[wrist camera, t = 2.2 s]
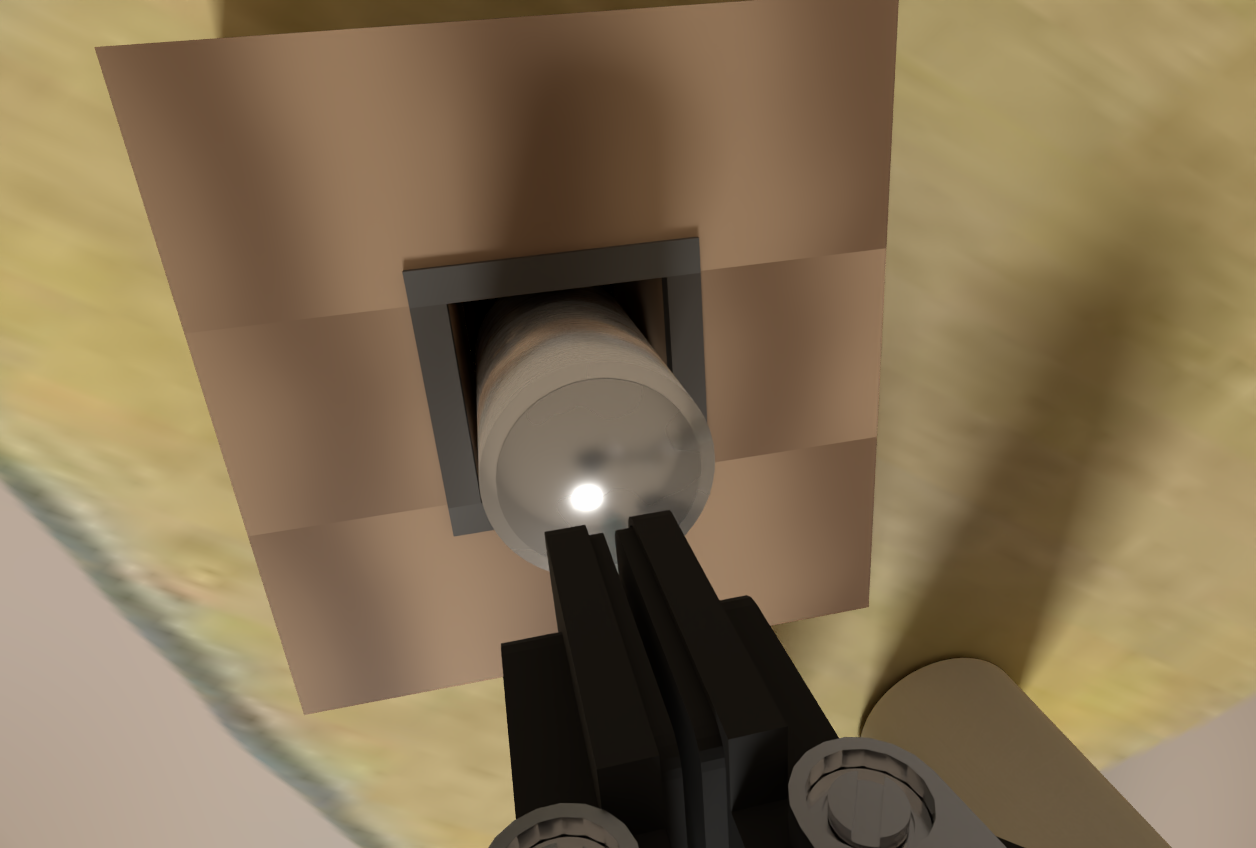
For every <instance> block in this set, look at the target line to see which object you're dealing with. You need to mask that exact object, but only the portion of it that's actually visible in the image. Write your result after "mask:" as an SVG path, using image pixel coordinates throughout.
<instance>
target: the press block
mask: <svg viewBox="0 0 1256 848" xmlns="http://www.w3.org/2000/svg"><path fill="white" fill-rule="evenodd" d="M898 1H899V0H751V1H737V2H723V3H709V4H695V5H680V6H666V7H652V8H638V9H624V10H610V11H596V12H582V13H568V14H554V15H540V16H526V17H512V18H498V19H484V20H470V21H456V22H442V23H427V24H413V25H399V26H385V27H371V28H357V29H343V30H329V31H315V32H301V33H287V34H273V35H259V36H245V37H231V38H217V39H203V40H189V41H175V42H160V43H146V44H132V45H118V46H104V47H95V50H96V54H97V57H98V60H99V63H100V66H101V70H102V73H103V76H104V79H105V82H106V85H107V89H108V92H109V95H110V98H111V101H112V105H113V108H114V111H115V114H116V117H117V120H118V124H119V127H120V130H121V133H122V136H123V140H124V143H125V146H126V149H127V152H128V155H129V159H130V162H131V165H132V168H133V171H134V175H135V178H136V181H137V184H138V187H139V191H140V194H141V197H142V200H143V203H144V206H145V210H146V213H147V216H148V219H149V222H150V226H151V229H152V232H153V235H154V238H155V241H156V245H157V248H158V251H159V254H160V257H161V261H162V264H163V267H164V270H165V273H166V276H167V280H168V283H169V286H170V289H171V292H172V296H173V299H174V302H175V305H176V308H177V311H178V315H179V318H180V321H181V324H182V327H183V331H184V334H185V337H186V340H187V343H188V346H189V350H190V353H191V356H192V359H193V362H194V366H195V369H196V372H197V375H198V378H199V381H200V385H201V388H202V391H203V394H204V397H205V401H206V404H207V407H208V410H209V413H210V416H211V420H212V423H213V426H214V429H215V432H216V436H217V439H218V442H219V445H220V448H221V451H222V455H223V458H224V461H225V464H226V467H227V471H228V474H229V477H230V480H231V483H232V486H233V490H234V493H235V496H236V499H237V502H238V506H239V509H240V512H241V515H242V518H243V522H244V525H245V528H246V531H247V534H248V537H249V541H250V544H251V547H252V550H253V553H254V557H255V560H256V563H257V566H258V569H259V572H260V576H261V579H262V582H263V585H264V588H265V592H266V595H267V598H268V601H269V604H270V607H271V611H272V614H273V617H274V620H275V623H276V627H277V630H278V633H279V636H280V639H281V642H282V646H283V649H284V652H285V655H286V658H287V662H288V665H289V668H290V671H291V674H292V677H293V681H294V684H295V687H296V690H297V693H298V697H299V700H300V703H301V706H302V709H303V712H304V715H306V714H312V713H317V712H322V711H327V710H333V709H338V708H343V707H348V706H353V705H359V704H364V703H369V702H374V701H380V700H385V699H390V698H395V697H401V696H406V695H411V694H416V693H421V692H427V691H432V690H437V689H442V688H448V687H453V686H458V685H463V684H468V683H474V682H479V681H484V680H489V679H495V678H500V677H503V668H502V657H501V643H506V642H511V641H516V640H521V639H526V638H531V637H536V636H541V635H546V634H551V633H556V632H558V628H557V621H556V614H555V607H554V600H553V593H552V586H551V579H550V572H549V571H547V570H544V569H541V568H539V567H537V566H535V565H533V564H531V563H529V562H527V561H526V560H524V559H523V558H521V557H520V556H519V555H517V554H516V553H515V552H513V551H512V550H511V549H510V548H509V547H508V546H507V545H506V544H505V543H504V542H503V541H502V539H501V538H500V537H499V536H498V534H497V533H496V532H495V530H494V528H493V527H492V525H491V523H490V522H489V520H488V517H487V515H486V512H485V510H484V507H483V503H482V499H481V495H480V487H479V468H478V431H477V394H476V379H475V373H474V367H473V361H472V355H471V349H470V343H469V337H468V331H467V325H466V319H465V313H464V307H463V302H466V301H474V300H482V299H490V298H498V297H507V296H515V295H523V294H531V293H539V292H548V291H556V290H564V289H572V288H580V287H589V286H597V285H605V284H614V296H615V300H616V301H617V302H618V303H619V305H620V306H621V307H622V308H623V310H624V311H625V312H626V314H627V315H628V316H629V317H630V319H631V320H632V321H633V323H634V324H635V325H636V327H637V328H638V329H639V330H640V332H641V333H642V334H643V336H644V337H645V338H646V340H647V341H648V342H649V343H650V345H651V346H652V347H653V349H654V350H655V351H656V353H657V354H658V355H659V356H660V358H661V359H662V360H663V362H664V363H665V364H666V366H667V367H668V368H669V369H670V371H671V372H672V373H673V375H674V376H675V377H676V379H677V380H678V381H679V382H680V384H681V385H682V386H683V388H684V389H685V390H686V392H687V393H688V394H689V395H690V397H691V398H692V399H693V401H694V402H695V403H696V405H697V406H698V408H699V409H700V411H701V412H702V414H703V416H704V417H705V420H706V422H707V424H708V427H709V429H710V432H711V436H712V440H713V444H714V453H715V472H714V478H713V484H712V488H711V491H710V494H709V497H708V500H707V502H706V504H705V506H704V509H703V511H702V512H701V514H700V516H699V517H698V519H697V521H696V522H695V524H694V525H693V526H692V527H691V529H690V530H689V531H688V533H687V534H686V535H685V538H686V539H687V541H688V543H689V545H690V547H691V549H692V550H693V552H694V554H695V556H696V558H697V560H698V561H699V563H700V565H701V567H702V569H703V571H704V573H705V574H706V576H707V578H708V580H709V582H710V584H711V585H712V587H713V589H714V591H715V593H716V595H717V597H718V598H719V600H724V599H729V598H734V597H739V596H744V595H748V596H750V597H752V599H753V600H754V601H755V602H756V604H757V605H758V607H759V609H760V610H761V612H762V613H763V615H764V617H765V618H766V620H767V622H768V623H769V625H770V626H772V625H777V624H782V623H787V622H793V621H798V620H803V619H808V618H814V617H819V616H824V615H829V614H834V613H840V612H845V611H850V610H855V609H861V608H866V607H869V587H870V567H871V547H872V527H873V507H874V486H875V466H876V446H877V426H878V406H879V385H880V365H881V345H882V325H883V305H884V284H885V264H886V244H887V224H888V203H889V183H890V163H891V143H892V123H893V102H894V82H895V62H896V42H897V22H898ZM618 575H619V574H618Z"/></svg>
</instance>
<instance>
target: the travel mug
mask: <svg viewBox="0 0 1256 848" xmlns="http://www.w3.org/2000/svg"><path fill="white" fill-rule="evenodd" d="M861 738H872V739H876V740H880V741H883V742H887V743H891V744H894V745H896V746H898V747H900V748H902V749H904V750H906V751H908V752H910V753H912V754H914V755H916V756H917V757H918V758H919V759H920V760H922V761H923V762H924V763H925V764H926V765H928V766H929V767H930V768H931V769H932V770H934V771H935V772H936V773H937V774H938V775H939V777H940V778H941V779H942V780H943V781H944V782H945V783H946V784H947V785H948V786H949V787H950V788H951V789H952V790H953V791H954V792H955V793H956V795H957V796H958V797H959V798H960V799H961V800H962V801H963V802H964V803H965V804H966V805H967V806H968V807H969V808H970V809H971V810H972V811H973V813H974V814H975V815H976V816H977V817H978V818H979V819H980V820H981V821H982V822H983V823H984V824H985V825H986V826H987V827H988V828H989V829H990V831H991V832H992V833H993V834H994V835H995V836H997V837H1000V838H1002V839H1005V840H1007V841H1010V842H1012V843H1015V844H1017V845H1020V846H1022V847H1025V848H1172V847H1171V846H1170V845H1169V844H1168V843H1167V842H1166V841H1165V840H1164V839H1163V838H1162V837H1161V836H1160V835H1159V834H1158V833H1157V832H1156V831H1155V829H1154V828H1153V827H1151V825H1150V824H1149V823H1148V822H1147V821H1146V820H1145V819H1144V818H1143V817H1142V816H1141V815H1140V814H1139V813H1138V812H1137V811H1136V810H1135V808H1133V806H1132V805H1131V804H1130V803H1129V802H1128V801H1127V800H1126V799H1125V798H1124V797H1123V796H1122V795H1121V794H1120V793H1119V792H1118V791H1117V790H1116V789H1115V787H1113V785H1112V784H1111V783H1110V782H1109V781H1108V780H1107V779H1106V778H1105V777H1104V776H1103V775H1102V774H1101V773H1100V772H1099V771H1098V770H1097V769H1096V767H1095V766H1094V765H1093V764H1092V763H1091V762H1090V761H1089V760H1088V759H1087V758H1086V757H1085V756H1084V755H1083V754H1082V753H1081V752H1080V751H1079V750H1078V749H1077V747H1076V746H1075V745H1074V744H1073V743H1072V742H1071V741H1070V740H1069V739H1068V738H1067V737H1066V736H1065V735H1064V734H1063V733H1062V732H1061V731H1060V730H1059V729H1058V728H1057V726H1056V725H1055V724H1054V723H1053V722H1052V721H1051V720H1050V719H1049V718H1048V717H1047V716H1046V715H1045V714H1044V713H1043V712H1042V711H1041V710H1040V709H1039V708H1038V706H1037V705H1036V704H1035V703H1034V702H1033V701H1032V700H1031V699H1030V698H1029V697H1028V696H1027V695H1026V694H1025V693H1024V692H1023V691H1022V690H1021V689H1020V688H1019V687H1018V685H1017V684H1016V683H1015V682H1014V681H1013V680H1012V679H1011V678H1010V677H1009V676H1008V675H1007V674H1006V673H1005V672H1004V671H1003V670H1002V669H1000V668H999V667H998V666H996V665H994V664H992V663H990V662H987V661H984V660H980V659H974V658H954V659H948V660H943V661H939V662H936V663H933V664H930V665H928V666H925V667H923V668H921V669H919V670H916V671H915V672H913V673H911V674H909V675H908V676H906V677H905V678H903V679H902V680H900V681H899V682H898V683H897V684H895V685H894V686H893V687H892V688H891V689H890V690H888V691H887V692H886V693H885V694H884V696H883V697H882V698H881V699H880V700H879V701H878V702H877V704H876V705H875V707H874V708H873V709H872V711H871V713H870V714H869V716H868V718H867V720H866V722H865V725H864V728H863V730H862V734H861Z"/></svg>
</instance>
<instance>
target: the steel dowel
mask: <svg viewBox="0 0 1256 848" xmlns="http://www.w3.org/2000/svg"><path fill="white" fill-rule="evenodd" d="M475 357H476V394H477V431H478V468H479V487H480V495H481V499H482V503H483V507H484V510H485V512H486V515H487V517H488V520H489V522H490V523H491V525H492V527H493V528H494V530H495V532H496V533H497V534H498V536H499V537H500V538H501V539H502V541H503V542H504V543H505V544H506V545H507V546H508V547H509V548H510V549H511V550H512V551H513V552H515V553H516V554H517V555H519V556H520V557H521V558H523V559H524V560H526V561H527V562H529V563H531V564H533V565H535V566H537V567H539V568H541V569H544V570H547V571H549V565H548V557H547V550H546V543H545V535H544V532H546V531H551V530H557V529H563V528H569V527H574V526H580V525H586V527H587V530H588V533H589V535H592V534H598V533H604V536H605V538H606V541H607V544H608V547H609V550H610V552H611V555H612V558H613V561H614V564H615V566H616V569H617V572H618V564H617V554H616V544H615V530H620V529H626V528H628V519H629V517H631V516H637V515H643V514H648V513H654V512H660V511H665V510H670V511H671V512H672V514H673V515H674V517H675V519H676V521H677V523H678V525H679V526H680V528H681V530H682V532H683V534H684V536H685V535H686V534H687V533H688V531H689V530H690V529H691V527H692V526H693V525H694V524H695V522H696V521H697V519H698V517H699V516H700V514H701V512H702V511H703V509H704V506H705V504H706V502H707V500H708V497H709V494H710V491H711V488H712V484H713V478H714V472H715V453H714V444H713V440H712V436H711V432H710V429H709V427H708V424H707V422H706V420H705V417H704V416H703V414H702V412H701V411H700V409H699V408H698V406H697V405H696V403H695V402H694V401H693V399H692V398H691V397H690V395H689V394H688V393H687V392H686V390H685V389H684V388H683V386H682V385H681V384H680V382H679V381H678V380H677V379H676V377H675V376H674V375H673V373H672V372H671V371H670V369H669V368H668V367H667V366H666V364H665V363H664V362H663V360H662V359H661V358H660V356H659V355H658V354H657V353H656V351H655V350H654V349H653V347H652V346H651V345H650V343H649V342H648V341H647V340H646V338H645V337H644V336H643V334H642V333H641V332H640V330H639V329H638V328H637V327H636V325H635V324H634V323H633V321H632V320H631V319H630V317H629V316H628V315H627V314H626V312H625V311H624V310H623V308H622V307H621V306H620V305H619V303H618V302H617V301H616V300H615V299H614V298H613V297H612V296H611V295H610V294H609V293H608V292H606V291H605V290H603V289H602V288H601V287H599V286H589V287H580V288H572V289H564V290H556V291H548V292H539V293H531V294H523V295H515V296H507V297H500V298H499V299H498V300H497V301H496V302H495V304H494V305H493V306H492V307H491V309H490V310H489V311H488V313H487V314H486V316H485V318H484V320H483V322H482V324H481V327H480V330H479V333H478V337H477V342H476V354H475Z"/></svg>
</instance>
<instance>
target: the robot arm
mask: <svg viewBox="0 0 1256 848" xmlns="http://www.w3.org/2000/svg"><path fill="white" fill-rule="evenodd" d="M544 535H545V543H546V550H547V557H548V565H549V572H550V579H551V586H552V593H553V600H554V607H555V614H556V621H557V628H558V632H556V633H551V634H546V635H541V636H536V637H531V638H526V639H521V640H516V641H511V642H506V643H501V657H502V668H503V679H504V691H505V702H506V713H507V724H508V735H509V747H510V758H511V769H512V780H513V791H514V802H515V814H516V820H514V821H513V822H512V823H511V824H510V825H509V826H507V827H506V828H505V829H504V830H503V831H502V832H501V833H500V834H499V835H497V836H496V837H495V838H494V840H493V841H492V843H491V845H490V846H489V848H1025V847H1022V846H1020V845H1017V844H1015V843H1012V842H1010V841H1007V840H1005V839H1002V838H1000V837H997V836H995V835H994V834H993V833H992V832H991V831H990V829H989V828H988V827H987V826H986V825H985V824H984V823H983V822H982V821H981V820H980V819H979V818H978V817H977V816H976V815H975V814H974V813H973V811H972V810H971V809H970V808H969V807H968V806H967V805H966V804H965V803H964V802H963V801H962V800H961V799H960V798H959V797H958V796H957V795H956V793H955V792H954V791H953V790H952V789H951V788H950V787H949V786H948V785H947V784H946V783H945V782H944V781H943V780H942V779H941V778H940V777H939V775H938V774H937V773H936V772H935V771H934V770H932V769H931V768H930V767H929V766H928V765H926V764H925V763H924V762H923V761H922V760H920V759H919V758H918V757H917V756H916V755H914V754H912V753H910V752H908V751H906V750H904V749H902V748H900V747H898V746H896V745H894V744H891V743H887V742H883V741H880V740H876V739H872V738H860V737H843V738H839V737H838V736H837V734H836V732H835V731H834V729H833V728H832V726H831V724H830V723H829V721H828V719H827V718H826V716H825V715H824V713H823V711H822V710H821V708H820V706H819V705H818V703H817V701H816V700H815V698H814V697H813V695H812V693H811V692H810V690H809V688H808V687H807V685H806V684H805V682H804V680H803V679H802V677H801V675H800V674H799V672H798V670H797V669H796V667H795V666H794V664H793V662H792V661H791V659H790V657H789V656H788V654H787V653H786V651H785V649H784V648H783V646H782V644H781V643H780V641H779V640H778V638H777V636H776V635H775V633H774V631H773V630H772V628H771V626H770V625H769V623H768V622H767V620H766V618H765V617H764V615H763V613H762V612H761V610H760V609H759V607H758V605H757V604H756V602H755V601H754V600H753V599H752V597H750V596H748V595H744V596H739V597H734V598H729V599H724V600H719V598H718V597H717V595H716V593H715V591H714V589H713V587H712V585H711V584H710V582H709V580H708V578H707V576H706V574H705V573H704V571H703V569H702V567H701V565H700V563H699V561H698V560H697V558H696V556H695V554H694V552H693V550H692V549H691V547H690V545H689V543H688V541H687V539H686V538H685V536H684V534H683V532H682V530H681V528H680V526H679V525H678V523H677V521H676V519H675V517H674V515H673V514H672V512H671V511H670V510H665V511H660V512H654V513H648V514H643V515H637V516H631V517H629V519H628V528H626V529H620V530H615V544H616V554H617V564H618V572H617V569H616V566H615V564H614V561H613V558H612V555H611V552H610V550H609V547H608V544H607V541H606V538H605V536H604V533H598V534H592V535H589V533H588V530H587V527H586V525H580V526H574V527H569V528H563V529H557V530H551V531H546V532H544ZM618 574H619V575H618Z"/></svg>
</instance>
